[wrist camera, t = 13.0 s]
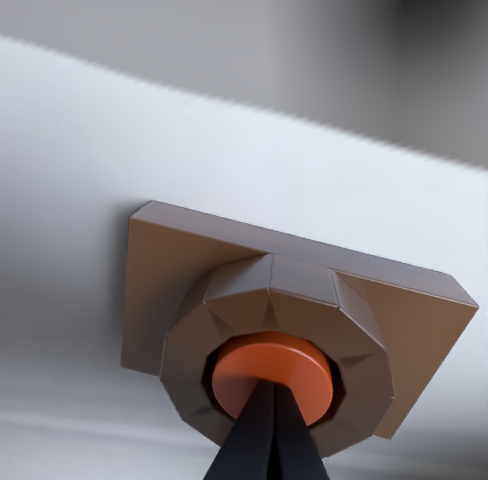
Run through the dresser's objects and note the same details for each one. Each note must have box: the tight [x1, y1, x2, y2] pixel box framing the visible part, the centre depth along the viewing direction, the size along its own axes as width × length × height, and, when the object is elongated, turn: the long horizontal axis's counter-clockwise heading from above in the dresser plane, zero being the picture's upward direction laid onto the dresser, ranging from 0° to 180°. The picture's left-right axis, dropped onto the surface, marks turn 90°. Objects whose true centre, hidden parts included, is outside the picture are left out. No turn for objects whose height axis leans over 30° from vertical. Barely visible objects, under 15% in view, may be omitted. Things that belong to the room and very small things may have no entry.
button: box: [212, 330, 333, 426], centre depth 9 cm, size 3×3×2 cm
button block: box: [121, 200, 479, 459], centre depth 10 cm, size 10×6×4 cm, turn 78°
